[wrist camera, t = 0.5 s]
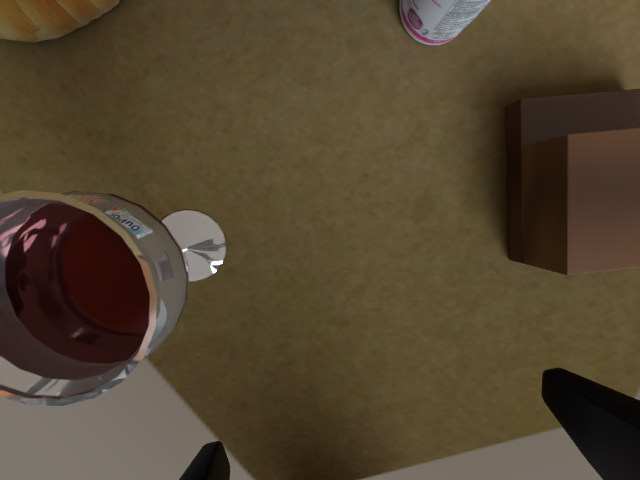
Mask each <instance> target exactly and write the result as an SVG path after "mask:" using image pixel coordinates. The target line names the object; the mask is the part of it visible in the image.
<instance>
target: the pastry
mask: <svg viewBox="0 0 640 480" xmlns="http://www.w3.org/2000/svg"><path fill="white" fill-rule="evenodd" d="M119 1H120V0H0V38H1V39H7V40H16V41H25V42H35V43H36V42H39V41H42V40H48V39H57V38H59V37H61V36H63V35H65V34H67V33H71V32H73V30H75V29H77V28H80V27H82V26H84V25H88V23H89V22H90V21H92V20H94V19H96V18H98V19H99V17H100V16H102V15H104V14H105V13H107V12H108V11H110V10H111V9H112V8H113V7H114V6H116V5H117V4H118V3H119Z"/></svg>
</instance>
